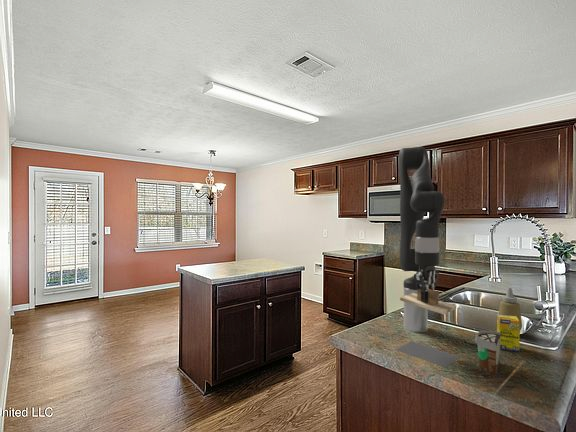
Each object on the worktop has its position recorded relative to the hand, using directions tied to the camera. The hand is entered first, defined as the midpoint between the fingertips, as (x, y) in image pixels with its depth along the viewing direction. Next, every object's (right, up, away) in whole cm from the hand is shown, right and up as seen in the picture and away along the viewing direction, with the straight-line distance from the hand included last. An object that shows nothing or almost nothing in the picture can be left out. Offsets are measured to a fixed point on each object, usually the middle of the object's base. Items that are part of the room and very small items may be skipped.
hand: (426, 300), depth 107 cm
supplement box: (+31, -18, +5) cm, 36 cm away
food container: (+15, -19, -9) cm, 25 cm away
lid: (0, -1, 0) cm, 1 cm away
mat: (0, -18, 0) cm, 18 cm away
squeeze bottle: (+42, -18, +19) cm, 49 cm away
